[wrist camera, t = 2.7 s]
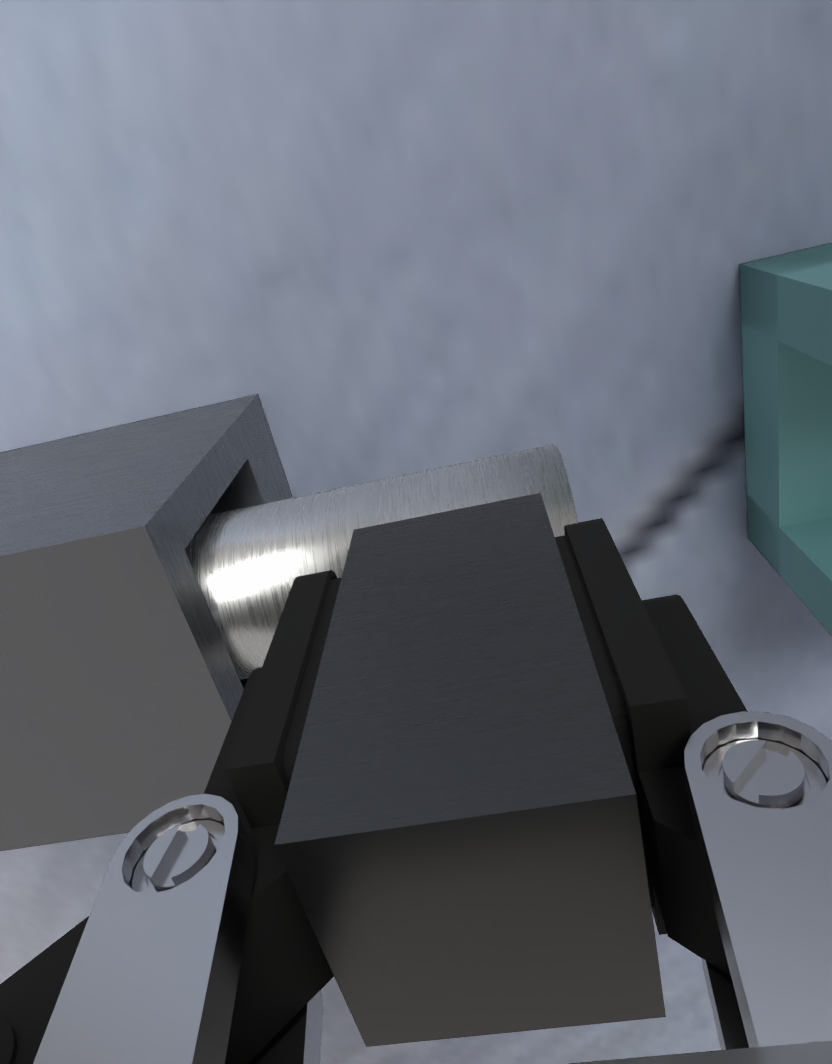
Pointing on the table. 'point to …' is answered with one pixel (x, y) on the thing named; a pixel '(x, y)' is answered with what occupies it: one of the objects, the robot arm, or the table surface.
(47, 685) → the sleeve
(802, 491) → the socket
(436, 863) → the grey l-shaped bar
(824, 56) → the table surface
